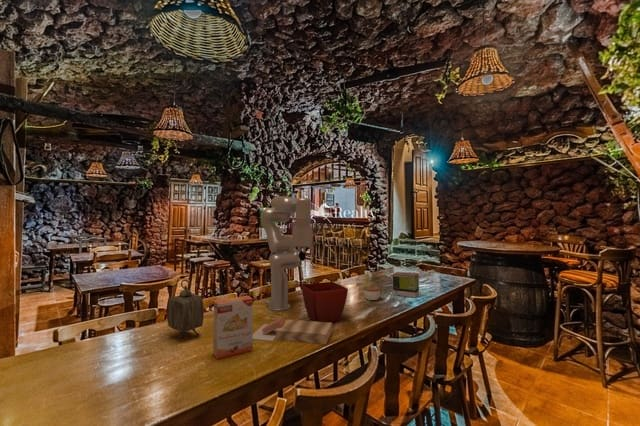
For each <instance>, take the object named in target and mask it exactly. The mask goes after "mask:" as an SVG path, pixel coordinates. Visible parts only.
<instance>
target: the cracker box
mask: <svg viewBox="0 0 640 426" xmlns="http://www.w3.org/2000/svg"><path fill="white" fill-rule="evenodd" d="M253 320H254V298H252V297H251V296H249V295H243V296H236V297H229V298H221V299H216V300H215V299H214V300H213V346H212V347H213V351H212V352H213V356H214V357H215V358H216V360H219V359H223V358H228V357H231V356H236V355H239V354H244V353H247V352H253V344H254V343H253V342H254V341H253V334H254V332H253V329H254V321H253Z"/></svg>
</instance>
